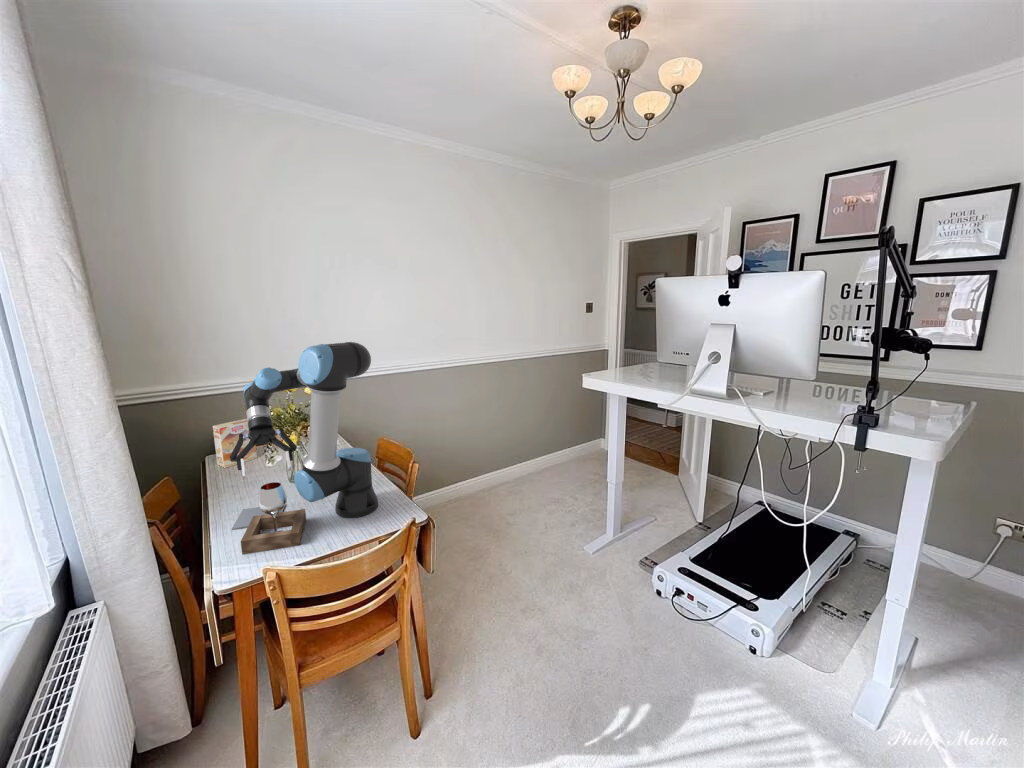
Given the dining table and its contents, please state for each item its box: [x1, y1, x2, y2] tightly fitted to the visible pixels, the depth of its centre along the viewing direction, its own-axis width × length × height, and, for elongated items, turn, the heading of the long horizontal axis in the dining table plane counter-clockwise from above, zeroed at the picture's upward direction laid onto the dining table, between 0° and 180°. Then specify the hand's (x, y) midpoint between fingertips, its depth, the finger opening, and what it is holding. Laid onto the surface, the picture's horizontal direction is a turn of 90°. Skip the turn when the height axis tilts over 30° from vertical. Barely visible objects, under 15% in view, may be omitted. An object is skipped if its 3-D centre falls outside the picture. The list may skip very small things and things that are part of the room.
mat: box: [231, 506, 285, 531], centre depth 150 cm, size 14×14×1 cm
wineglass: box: [257, 481, 288, 533], centre depth 136 cm, size 8×8×18 cm
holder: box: [240, 508, 307, 555], centre depth 137 cm, size 16×16×4 cm
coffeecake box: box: [212, 418, 258, 469], centre depth 198 cm, size 15×7×20 cm, turn 149°
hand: (267, 473), depth 143 cm, fingers open, 13 cm apart
